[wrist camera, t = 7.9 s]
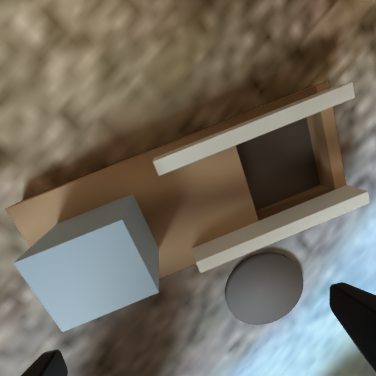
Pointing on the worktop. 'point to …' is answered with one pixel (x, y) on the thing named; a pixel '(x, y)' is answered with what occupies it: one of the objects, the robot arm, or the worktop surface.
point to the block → (93, 263)
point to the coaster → (263, 288)
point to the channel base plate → (205, 184)
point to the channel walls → (280, 222)
